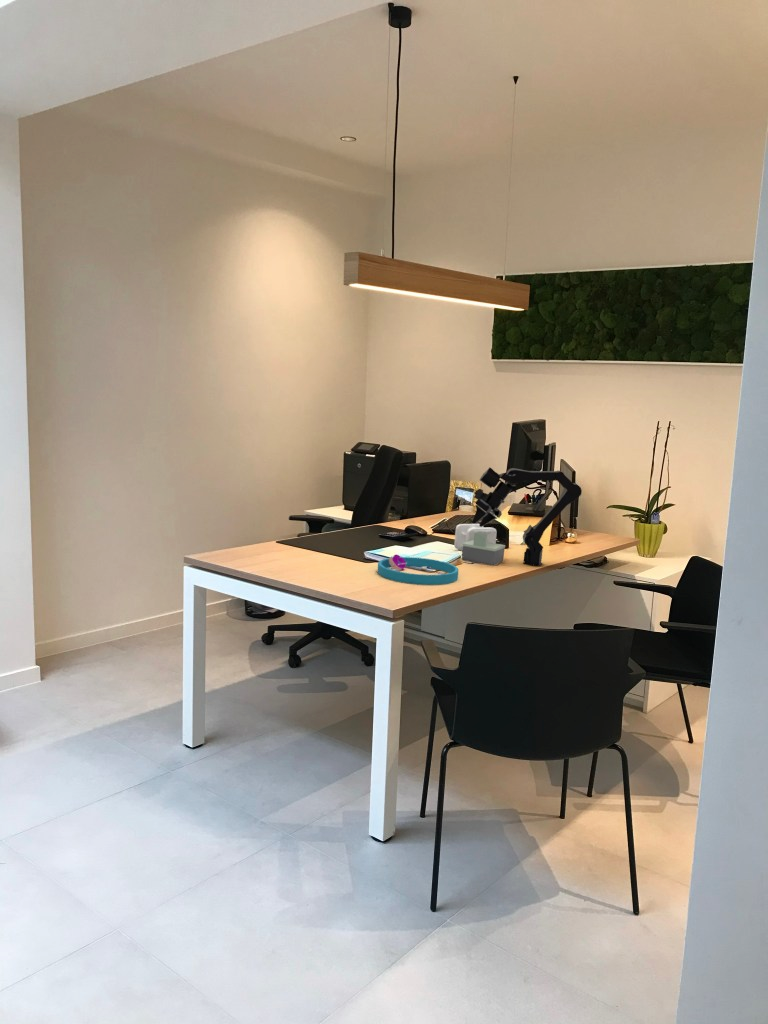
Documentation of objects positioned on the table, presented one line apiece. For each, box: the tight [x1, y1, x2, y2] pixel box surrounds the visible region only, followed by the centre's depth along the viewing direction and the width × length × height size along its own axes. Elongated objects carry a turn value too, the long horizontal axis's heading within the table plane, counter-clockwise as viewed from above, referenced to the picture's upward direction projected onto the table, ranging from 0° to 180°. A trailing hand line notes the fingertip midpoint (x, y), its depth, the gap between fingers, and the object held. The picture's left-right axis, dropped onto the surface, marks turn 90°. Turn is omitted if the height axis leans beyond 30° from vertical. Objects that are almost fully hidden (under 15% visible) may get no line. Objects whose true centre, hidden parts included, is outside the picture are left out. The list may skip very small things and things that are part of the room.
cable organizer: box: [453, 523, 497, 551], centre depth 359 cm, size 15×11×12 cm
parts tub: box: [461, 546, 505, 566], centre depth 341 cm, size 14×11×6 cm
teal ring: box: [376, 554, 459, 586], centre depth 307 cm, size 30×30×6 cm
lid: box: [462, 533, 506, 551], centre depth 340 cm, size 14×11×7 cm
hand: (476, 524), depth 341 cm, fingers open, 9 cm apart
